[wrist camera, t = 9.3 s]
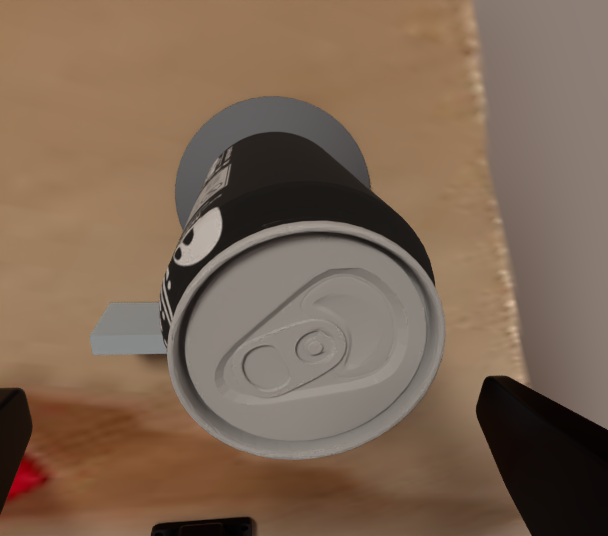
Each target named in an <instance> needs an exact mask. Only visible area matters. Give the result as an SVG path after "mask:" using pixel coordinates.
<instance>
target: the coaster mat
mask: <svg viewBox="0 0 608 536" xmlns="http://www.w3.org/2000/svg"><path fill="white" fill-rule="evenodd" d="M264 132H286V133H292V134H296V135H299V136H302V137H304V138H307V139H309V140H311V141H312V142H314V143H316V144H317V145H319V146H320V147H321V148H323V149H324V150H325V151H326V152H327V153H328V154H330V155H331V156H332V157H333V158H334V159H335V160H336V161H338V162H339V163H340V164H341V165H342V166H343V167H345V168H346V169H347V170H348V171H349V172H350V173H351V174H353V175H354V176H355V177H356V178H357V179H358V180H360V181H361V182H362V183H363V184H364V185H365V186H366V187H368V188H369V189H370V180H369V175H368V170H367V166H366V163H365V160H364V157H363V155H362V153H361V151H360V149H359V147H358V145H357V143H356V142H355V140H354V139H353V138H352V136H351V135H350V133H349V132H348V131H347V130H346V129H345V128H344V127H343V126H342V124H341V123H339V122H338V121H337V120H336V119H335V118H333V117H332V116H331V115H329V114H328V113H326V112H325V111H323V110H321V109H320V108H318V107H316V106H313V105H311V104H309V103H307V102H303V101H300V100H296V99H293V98H286V97H259V98H252V99H249V100H245V101H242V102H238V103H236V104H234V105H232V106H230V107H227V108H225V109H224V110H222V111H221V112H219V113H218V114H216V115H215V116H213V117H212V118H211V119H210V120H209V121H208V122H206V123H205V124H204V125H203V126H202V127H201V128H200V130H199V131H198V132H197V133H196V134H195V135H194V137H193V138H192V140H191V141H190V143H189V145H188V146H187V148H186V150H185V152H184V154H183V157H182V159H181V162H180V165H179V168H178V172H177V178H176V184H175V201H176V208H177V214H178V217H179V221H180V224H181V227H182V229H183V230H184V228H185V226H186V223H187V221H188V219H189V216H190V214H191V211H192V209H193V207H194V204H195V202H196V200H197V197H198V195H199V193H200V190H201V188H202V185H203V183H204V181H205V178H206V176H207V174H208V172H209V170H210V168H211V166H212V165H213V164H214V162H215V161H216V160H217V158H218V157H219V156H220V155H221V154H222V153H223V152H224V151H225V150H226V149H227V148H229V147H230V146H231V145H233V144H234V143H236V142H238V141H240V140H241V139H244V138H246V137H248V136H251V135H255V134H258V133H264Z"/></svg>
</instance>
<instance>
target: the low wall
mask: <svg viewBox="0 0 608 536" xmlns="http://www.w3.org/2000/svg"><path fill="white" fill-rule="evenodd" d="M90 341H91V347H92V353H93V355H122V354H167V351H166V349H165V346H164V342H163V338H162V334H161V329H160V322H159V303H110V304H109V305H108V307H107V309H106V310H105V312H104V313H103V315H102V317H101V318H100V320H99V322H98V323H97V325H96V326H95V328H94V330H93V331H92V333H91V335H90Z"/></svg>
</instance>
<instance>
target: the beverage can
mask: <svg viewBox="0 0 608 536" xmlns="http://www.w3.org/2000/svg"><path fill="white" fill-rule="evenodd" d="M159 322H160V329H161V334H162V338H163V342H164V346H165V349H166V351H167V360H168V367H169V373H170V377H171V381H172V384H173V387H174V389H175V392H176V394H177V396H178V398H179V400H180V402H181V403H182V405H183V406H184V408H185V409H186V411H187V412H188V414H189V415H190V416H191V417H192V418H193V419H194V420H195V421H196V422H197V423H198V424H199V425H200V426H201V427H202V428H203V429H204V430H206V431H207V432H208V433H209V434H211V435H212V436H213V437H215V438H217V439H218V440H220V441H222V442H223V443H225V444H227V445H229V446H231V447H233V448H236V449H238V450H241V451H244V452H247V453H250V454H253V455H257V456H262V457H267V458H272V459H283V460H301V459H313V458H321V457H326V456H331V455H335V454H339V453H342V452H345V451H349V450H351V449H354V448H357V447H359V446H361V445H363V444H365V443H367V442H369V441H371V440H373V439H375V438H377V437H379V436H380V435H382V434H383V433H385V432H387V431H388V430H390V429H391V428H392V427H394V426H395V425H396V424H397V423H399V422H400V421H401V420H402V419H403V418H404V417H406V416H407V415H408V414H409V413H410V412H411V411H412V410H413V408H414V407H415V406H416V405H417V404H418V403H419V402H420V400H421V399H422V398H423V396H424V395H425V394H426V392H427V390H428V388H429V387H430V385H431V383H432V381H433V380H434V378H435V375H436V373H437V370H438V368H439V365H440V363H441V360H442V356H443V350H444V344H445V318H444V313H443V308H442V304H441V300H440V297H439V295H438V293H437V291H436V289H435V280H434V275H433V271H432V267H431V263H430V260H429V257H428V255H427V253H426V250H425V248H424V246H423V244H422V243H421V241H420V239H419V238H418V236H417V235H416V233H415V232H414V231H413V229H412V228H411V227H410V226H409V224H408V223H407V222H406V221H405V220H404V219H403V218H402V217H401V216H400V215H399V214H398V213H396V212H395V211H394V210H393V209H392V208H391V207H390V206H388V205H387V204H386V203H385V202H384V201H383V200H381V199H380V198H379V197H378V196H377V195H376V194H375V193H373V192H372V191H371V190H370V189H369V188H368V187H366V186H365V185H364V184H363V183H362V182H361V181H360V180H358V179H357V178H356V177H355V176H354V175H353V174H351V173H350V172H349V171H348V170H347V169H346V168H345V167H343V166H342V165H341V164H340V163H339V162H338V161H336V160H335V159H334V158H333V157H332V156H331V155H330V154H328V153H327V152H326V151H325V150H324V149H323V148H321V147H320V146H319V145H317V144H316V143H314V142H312V141H311V140H309V139H307V138H304V137H302V136H299V135H296V134H292V133H286V132H264V133H258V134H255V135H251V136H248V137H246V138H244V139H241V140H240V141H238V142H236V143H234V144H233V145H231V146H230V147H229V148H227V149H226V150H225V151H224V152H223V153H222V154H221V155H220V156H219V157H218V158H217V160H216V161H215V162H214V164H213V165H212V166H211V168H210V170H209V172H208V174H207V176H206V178H205V181H204V183H203V185H202V188H201V190H200V193H199V195H198V197H197V200H196V202H195V204H194V207H193V209H192V211H191V214H190V216H189V219H188V221H187V223H186V226H185V228H184V230H183V233H182V235H181V237H180V240H179V242H178V245H177V247H176V249H175V252H174V254H173V256H172V259H171V261H170V263H169V266H168V268H167V271H166V273H165V276H164V279H163V283H162V287H161V293H160V300H159Z"/></svg>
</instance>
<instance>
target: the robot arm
mask: <svg viewBox="0 0 608 536" xmlns="http://www.w3.org/2000/svg"><path fill="white" fill-rule="evenodd" d="M476 415H477V418H478V421H479V424H480V426H481V428H482V431H483V433H484V436H485V438H486V440H487V443H488V445H489V448H490V450H491V452H492V455H493V457H494V460H495V462H496V464H497V467H498V469H499V472H500V474H501V476H502V479H503V481H504V483H505V485H506V487H507V489H508V491H509V493H510V495H511V497H512V499H513V501H514V503H515V505H516V507H517V509H518V511H519V513H520V514H521V516H522V518H523V520H524V522H525V524H526V526H527V528H528V529H529V531H530V533H531V535H532V536H608V430H607V429H605V428H603V427H601V426H599V425H598V424H596V423H594V422H592V421H590V420H588V419H586V418H584V417H583V416H581V415H579V414H577V413H575V412H573V411H572V410H569V409H568V408H566V407H564V406H562V405H560V404H558V403H557V402H555V401H552V400H551V399H549V398H547V397H545V396H543V395H542V394H539V393H538V392H536V391H534V390H532V389H530V388H528V387H527V386H525V385H523V384H521V383H519V382H517V381H515V380H513V379H512V378H510V377H508V376H488V377H486V378H485V380H484V382H483V385H482V388H481V392H480V395H479V398H478V402H477V405H476ZM31 433H32V419H31V414H30V410H29V406H28V402H27V398H26V394H25V392H24V390H23V389H21V388H0V514H1V512H2V509H3V507H4V504H5V502H6V499H7V497H8V494H9V491H10V489H11V486H12V484H13V481H14V479H15V476H16V473H17V471H18V468H19V466H20V463H21V460H22V458H23V455H24V453H25V450H26V447H27V445H28V442H29V440H30V437H31ZM151 536H252V520H251V519H249V518H233V519H220V520H207V521H193V522H180V523H167V524H157V525H155V526H154V527H153V528H152V532H151Z"/></svg>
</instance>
